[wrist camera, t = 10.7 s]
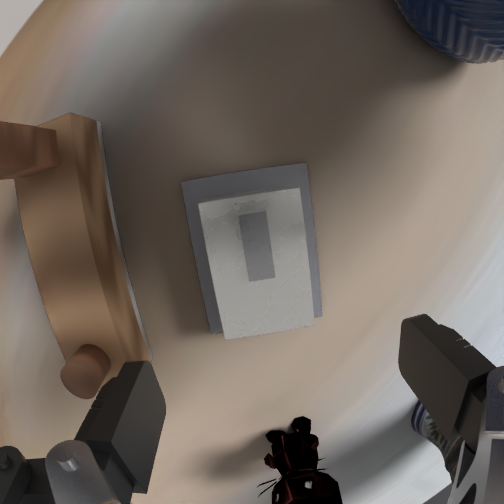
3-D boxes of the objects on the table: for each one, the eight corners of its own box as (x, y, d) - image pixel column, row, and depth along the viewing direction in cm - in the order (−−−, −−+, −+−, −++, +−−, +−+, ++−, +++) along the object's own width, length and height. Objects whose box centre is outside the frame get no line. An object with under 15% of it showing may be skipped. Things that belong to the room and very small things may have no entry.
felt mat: (182, 181, 22) (180, 181, 22) (304, 162, 22) (306, 162, 22) (211, 330, 25) (211, 333, 25) (320, 312, 25) (322, 316, 25)
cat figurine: (306, 400, 28) (334, 501, 16) (336, 433, 29) (365, 520, 18) (245, 431, 28) (250, 529, 17) (281, 460, 30) (294, 547, 18)
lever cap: (205, 198, 22) (196, 204, 18) (289, 185, 22) (301, 188, 18) (227, 314, 24) (225, 344, 20) (303, 301, 24) (316, 329, 20)
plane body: (46, 141, 21) (-48, 135, 10) (100, 122, 21) (14, 97, 10) (100, 359, 26) (50, 439, 15) (152, 356, 26) (116, 447, 15)
